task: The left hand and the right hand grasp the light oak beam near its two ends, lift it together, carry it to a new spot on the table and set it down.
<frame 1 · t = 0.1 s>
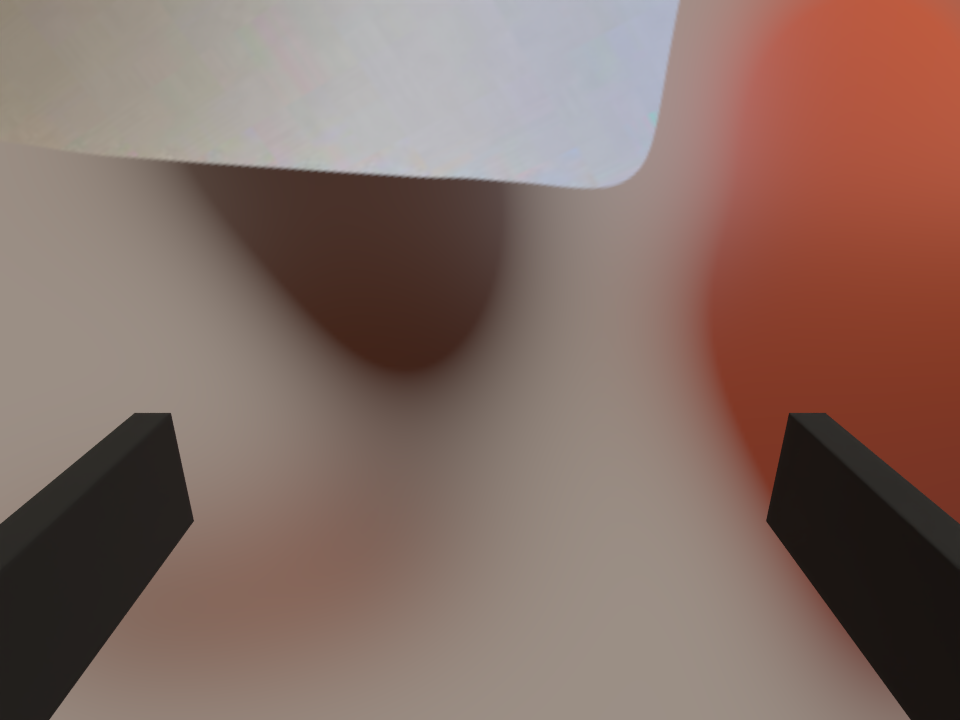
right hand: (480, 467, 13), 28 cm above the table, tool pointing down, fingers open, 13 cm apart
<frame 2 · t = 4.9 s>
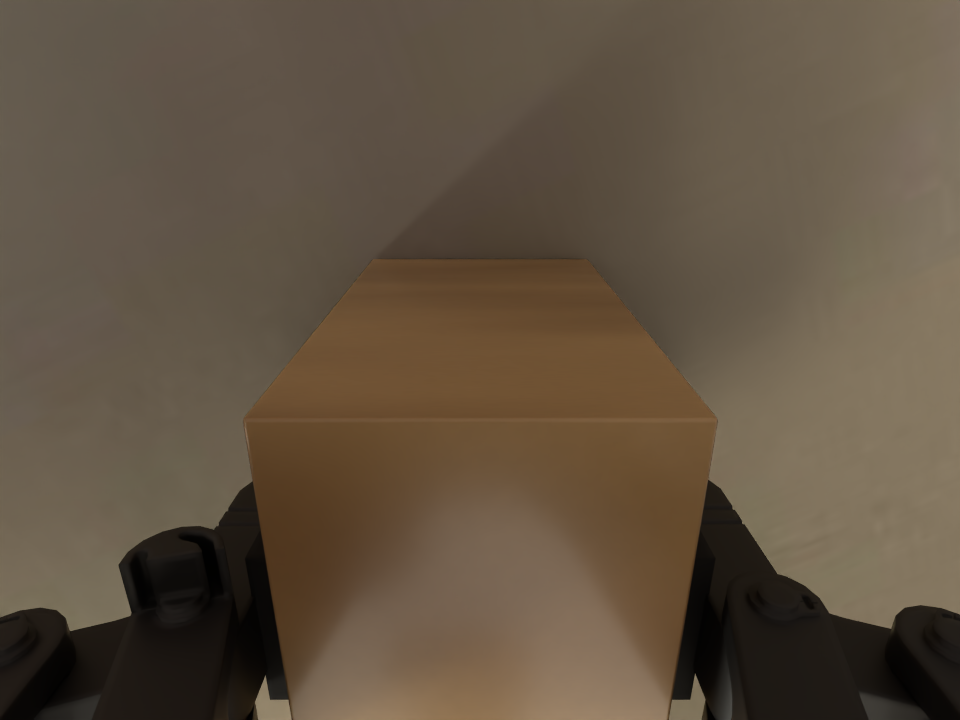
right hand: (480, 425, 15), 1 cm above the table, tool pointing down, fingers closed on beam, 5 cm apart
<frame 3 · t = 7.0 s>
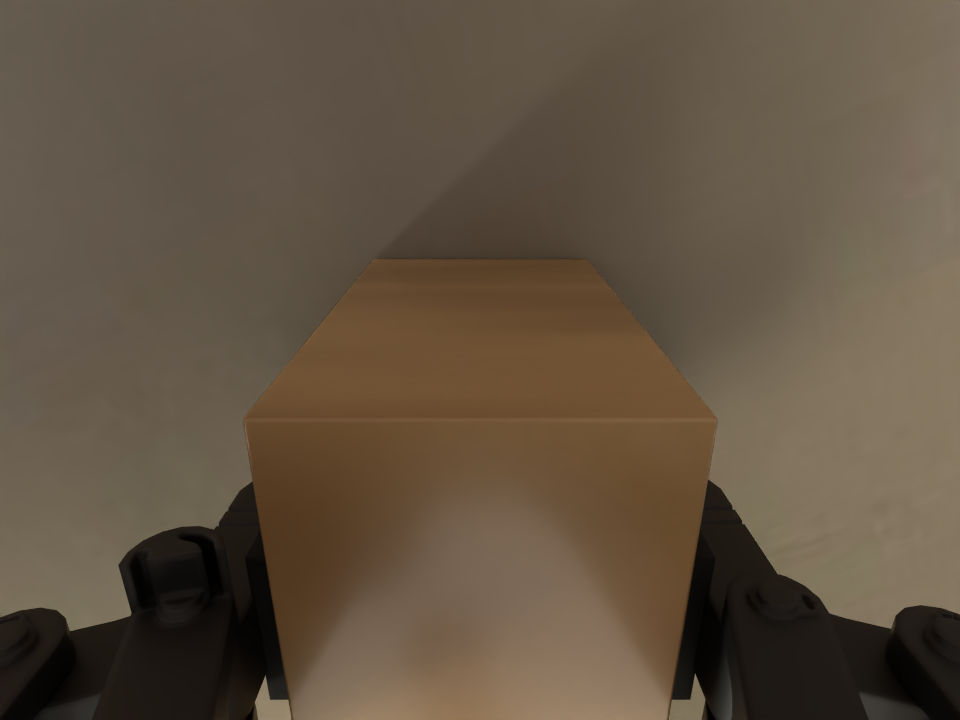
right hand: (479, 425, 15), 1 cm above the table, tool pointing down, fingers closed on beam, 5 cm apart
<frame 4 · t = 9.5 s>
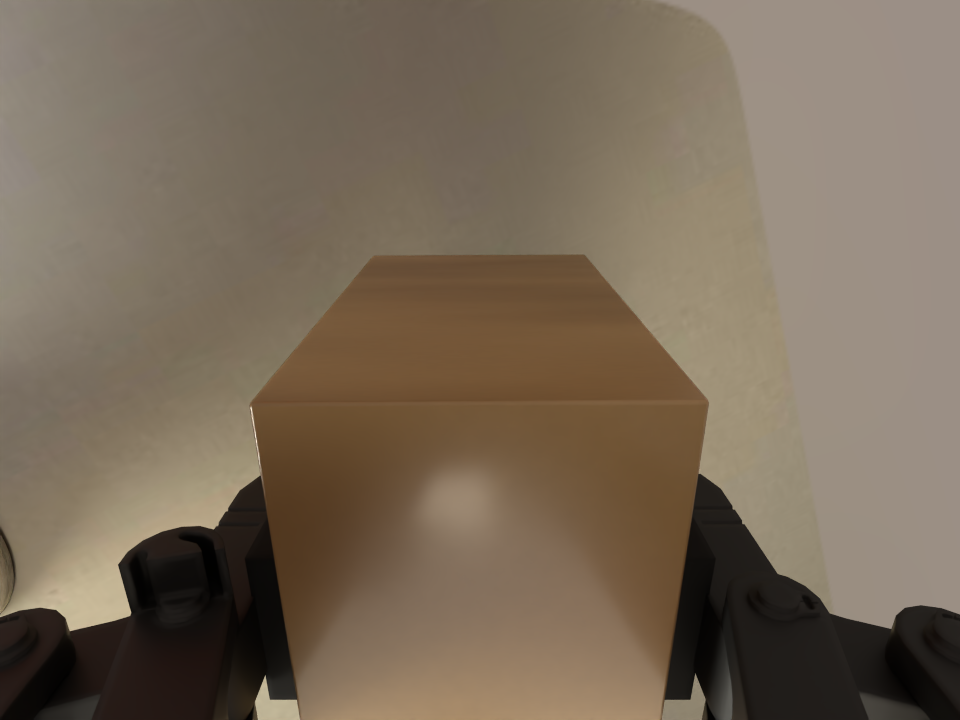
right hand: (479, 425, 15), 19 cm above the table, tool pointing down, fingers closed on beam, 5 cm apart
when the right hand's fingers open (2 cm above the table, at t = 14.5 s): beam drops 1 cm, on the table.
when the left hand's fingers open (5 cm above the table, at t = 14.7 s): beam stays where it is, on the table.
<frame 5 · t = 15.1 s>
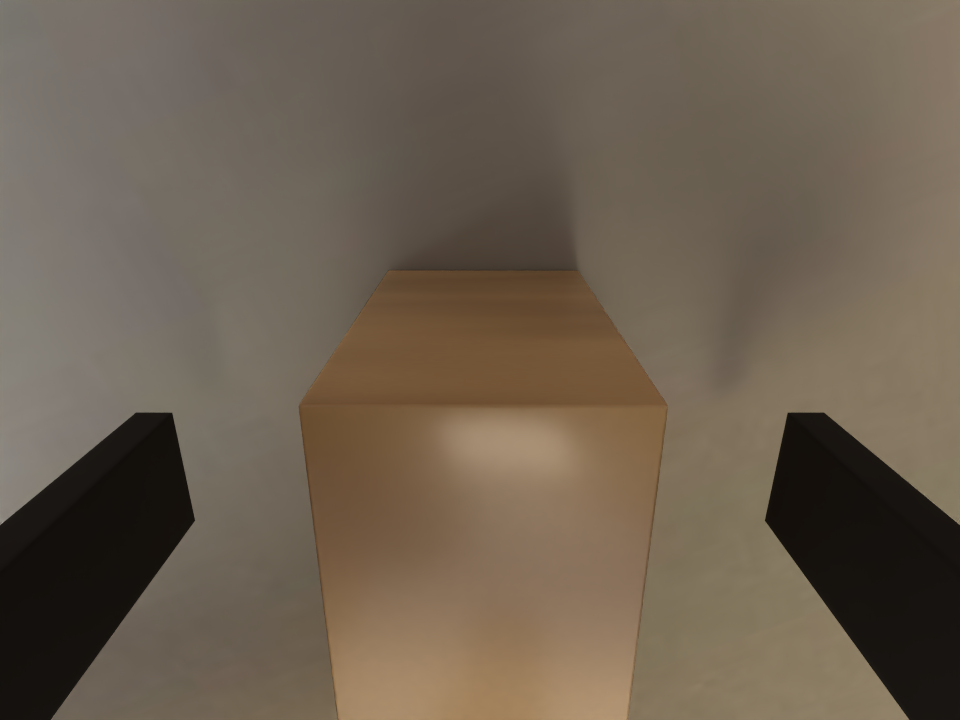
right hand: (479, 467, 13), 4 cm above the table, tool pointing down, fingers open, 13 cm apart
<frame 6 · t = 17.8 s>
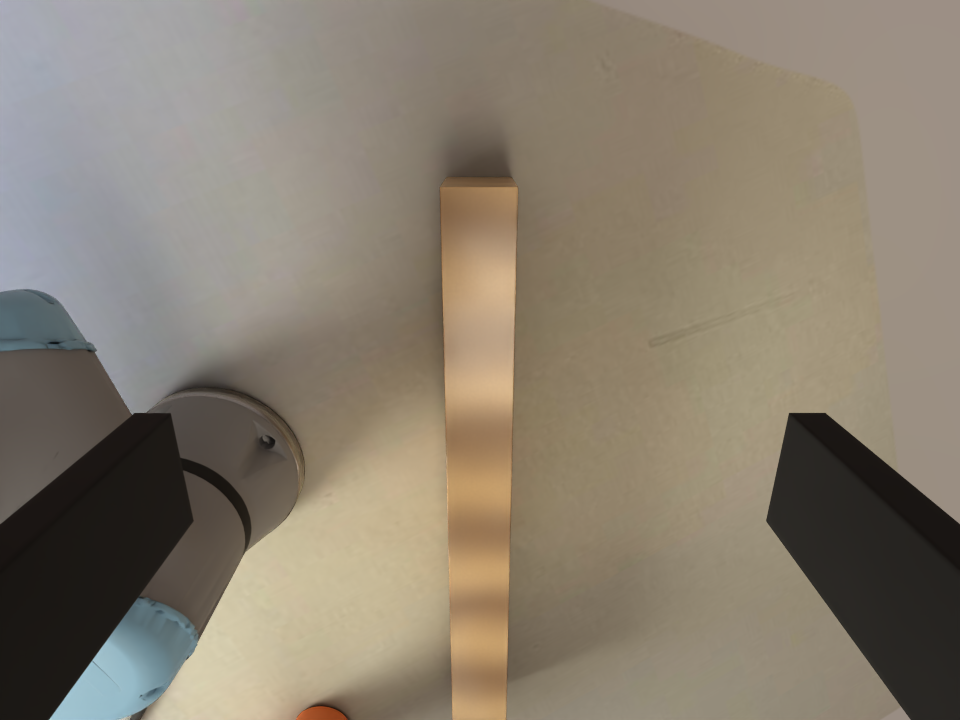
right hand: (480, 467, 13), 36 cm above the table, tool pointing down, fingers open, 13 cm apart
beam: (479, 477, 55), on the table
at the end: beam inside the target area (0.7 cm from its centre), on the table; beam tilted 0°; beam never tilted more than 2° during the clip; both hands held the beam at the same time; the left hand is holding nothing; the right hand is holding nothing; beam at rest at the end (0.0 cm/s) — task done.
